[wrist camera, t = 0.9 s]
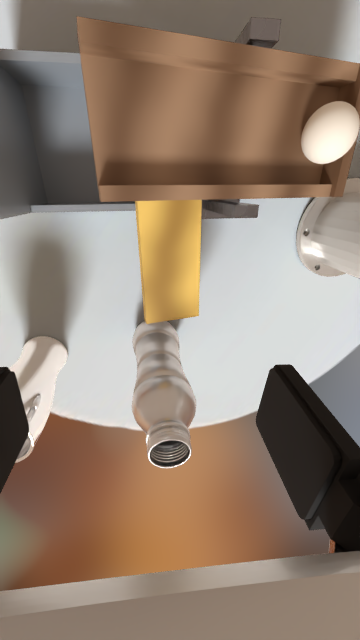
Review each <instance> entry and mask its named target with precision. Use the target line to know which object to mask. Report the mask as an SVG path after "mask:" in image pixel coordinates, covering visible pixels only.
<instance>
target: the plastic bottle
mask: <svg viewBox="0 0 360 640" xmlns="http://www.w3.org/2000/svg"><path fill="white" fill-rule="evenodd" d="M132 343H133V348H134V352H135V355H136V360H137V379H136V384H135V389H134V394H133V399H132V412H133V415H134V418H135V420H136V422H137V424H138V425H139V426H140V427H141V428H142V429H143V431H144V432H145V433H146V445H147V454H148V459H149V461H150V462H151V463H152V464H153V465H155V466H157V467H160V468H173V467H177V466H180V465H182V464H183V463H185V462H186V461H187V460H188V459H189V458H190V456H191V444H190V432H189V429H188V427H189V426H190V424H191V422H192V420H193V418H194V416H195V411H196V399H195V396H194V393H193V390H192V388H191V386H190V384H189V382H188V380H187V378H186V376H185V374H184V372H183V369H182V366H181V363H180V356H179V337H178V334H177V332H176V330H175V329H174V327H173V326H172V325H171V324H170V323H168V322H167V321H163V322H156V323H150V324H146V321H143V322H142V323H141V324H139V326H138V327H137V328H136V330H135V333H134V335H133V340H132Z"/></svg>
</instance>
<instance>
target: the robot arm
mask: <svg viewBox="0 0 360 640" xmlns="http://www.w3.org/2000/svg"><path fill="white" fill-rule="evenodd" d="M303 232H304V233H303ZM296 246H297V252H298V255H299V258H300V260H301V262H302V263H303V265H304V266H305V267H306V268H307V269H308V270H310V271H312V272H314V273H316V274H318V275H321V276H326V277H333V276H339V275H343V274H346V273H347V274H349V275H352V276H354V277H357V278H359V279H360V178H349V179H347V181H346V185H345V189H344V193H343V197H315V198H314V199H313V201H312V202H311V203H310V204H309V206H308V207H307V209H306V210H305V212H304V214H303V216H302V218H301V221H300V223H299V226H298V231H297V237H296ZM256 424H257V427H258V430H259V432H260V433H261V436H262V438H263V440H264V443H265V445H266V447H267V449H268V451H269V453H270V455H271V457H272V460H273V462H274V464H275V466H276V468H277V470H278V473H279V475H280V477H281V479H282V481H283V483H284V486H285V488H286V490H287V492H288V494H289V496H290V499H291V501H292V503H293V505H294V507H295V509H296V511H297V513H298V515H299V517H300V518H301V519H304V520H305V522H306V524H307V526H308V528H309V530H317V529H326V531H327V533H328V535H329V537H330V545H329V554H318V555H307V556H297V557H289V558H280V559H272V560H262V561H253V562H244V563H235V564H226V565H218V566H210V567H200V568H192V569H183V570H175V571H167V572H158V573H149V574H141V575H133V576H124V577H115V578H107V579H99V580H91V581H83V582H75V583H66V584H58V585H51V586H42V587H34V588H26V589H18V590H11V591H2V592H0V640H360V447H359V446H358V445H357V444H356V443H355V441H354V440H353V439H352V438H351V436H350V435H349V434H348V433H347V432H346V430H345V429H344V428H343V427H342V425H341V424H340V423H339V422H338V421H337V419H336V418H335V417H334V416H333V415H332V413H331V412H330V411H329V410H328V408H327V407H326V406H325V405H324V404H323V402H322V401H321V400H320V399H319V397H318V396H317V395H316V394H315V393H314V392H313V390H312V389H311V388H310V387H309V385H308V384H307V383H306V382H305V380H304V379H303V378H302V377H301V376H300V374H299V373H298V372H297V371H296V370H295V368H294V367H293V366H292V365H275V366H274V368H272V369H270V371H269V374H268V378H267V381H266V385H265V388H264V392H263V395H262V399H261V402H260V406H259V409H258V413H257V416H256ZM28 433H29V424H28V420H27V416H26V412H25V409H24V405H23V401H22V397H21V393H20V390H19V386H18V382H17V378H16V375H15V372H13V371H10V369H9V368H8V367H0V493H1V491H2V489H3V487H4V485H5V483H6V481H7V478H8V476H9V474H10V472H11V470H12V468H13V466H14V464H15V462H16V460H17V458H18V456H19V453H20V451H21V449H22V447H23V445H24V443H25V441H26V439H27V437H28Z"/></svg>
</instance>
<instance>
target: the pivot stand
mask: <svg viewBox="0 0 360 640" xmlns="http://www.w3.org/2000/svg"><path fill="white" fill-rule="evenodd" d="M280 24H281V19H269V18H256V17H251V19H250V20H249V22H248V23H247V25H246V26H245V28H244V29H243V31H242V32H241V34H240V35H239V37H238V39H237V40H236V42H235V43H240V44H246V45H252V46H258V47H264V48H270V49H271V48H272V47H273V46H274V45H275V44H276V43H277V42H278V41H279V32H280ZM258 208H259V205H256V204H248V203H240V202H239V199H209V200H202V209H201V219H214V218H257V216H258Z"/></svg>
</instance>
